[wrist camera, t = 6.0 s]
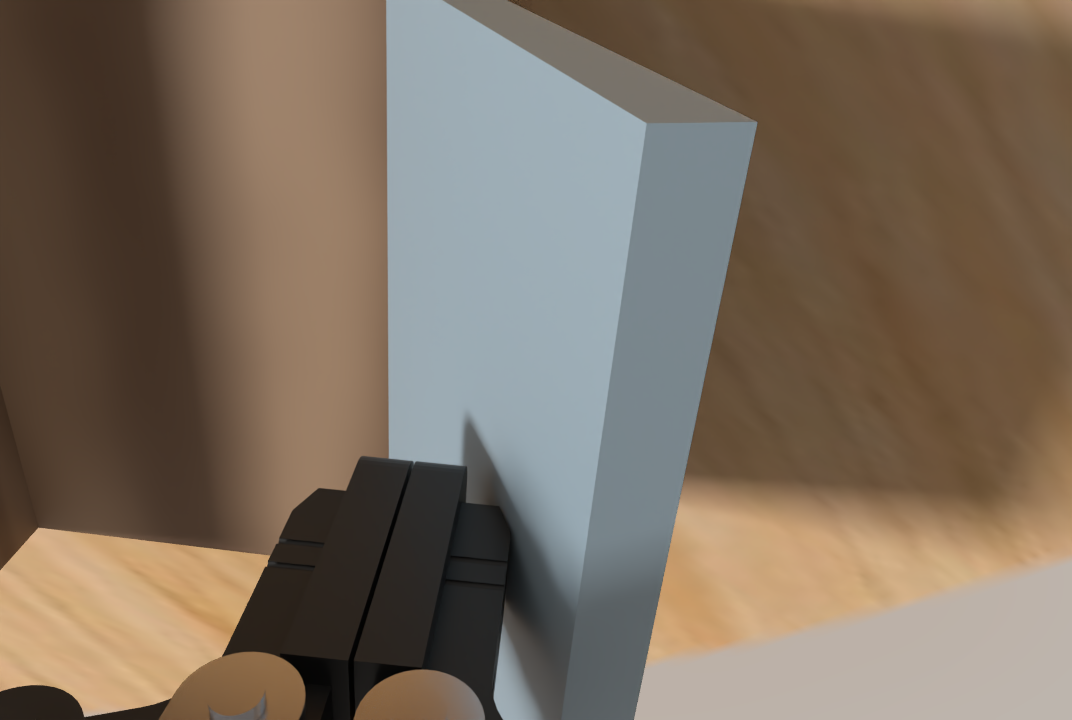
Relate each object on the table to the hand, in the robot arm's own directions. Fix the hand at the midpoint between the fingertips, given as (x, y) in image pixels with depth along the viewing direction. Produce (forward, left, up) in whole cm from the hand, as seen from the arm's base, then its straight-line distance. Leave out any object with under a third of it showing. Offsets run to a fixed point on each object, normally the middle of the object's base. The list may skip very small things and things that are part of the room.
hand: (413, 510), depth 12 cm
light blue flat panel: (+1, 0, -7) cm, 7 cm away
